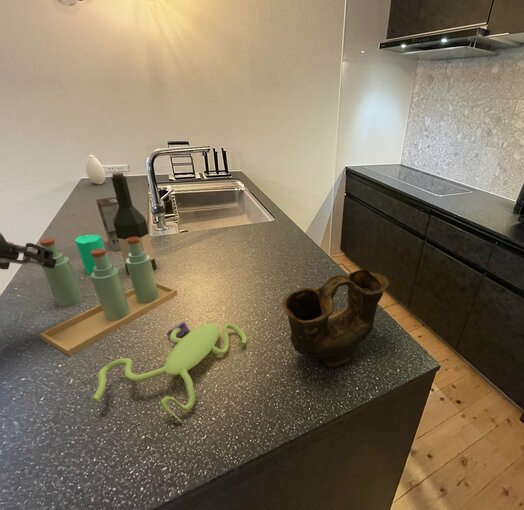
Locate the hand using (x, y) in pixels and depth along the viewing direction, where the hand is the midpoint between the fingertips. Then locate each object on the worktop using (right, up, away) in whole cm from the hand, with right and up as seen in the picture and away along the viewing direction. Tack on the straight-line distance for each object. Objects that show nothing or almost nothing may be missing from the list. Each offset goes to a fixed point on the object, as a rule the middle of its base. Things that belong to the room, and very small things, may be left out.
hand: (30, 264), depth 67 cm
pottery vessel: (+67, -20, +5) cm, 70 cm away
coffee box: (-11, +6, +43) cm, 44 cm away
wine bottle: (+6, -3, +28) cm, 29 cm away
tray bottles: (+14, -11, +12) cm, 22 cm away
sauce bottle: (-67, +42, +104) cm, 130 cm away
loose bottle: (-2, -10, +13) cm, 16 cm away
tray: (+12, -13, +9) cm, 20 cm away
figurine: (+35, -22, -4) cm, 41 cm away
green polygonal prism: (-7, -3, +27) cm, 28 cm away
